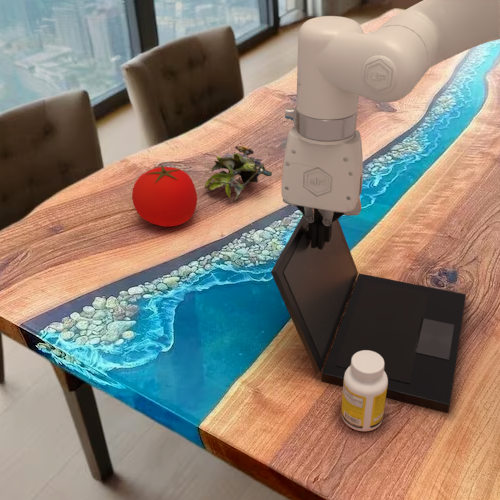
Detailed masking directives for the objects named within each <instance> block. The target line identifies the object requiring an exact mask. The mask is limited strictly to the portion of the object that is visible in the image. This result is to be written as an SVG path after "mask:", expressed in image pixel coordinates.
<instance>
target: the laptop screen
mask: <svg viewBox="0 0 500 500" xmlns="http://www.w3.org/2000/svg"><path fill="white" fill-rule="evenodd" d="M319 212H320V213H321V214H322V216H323V215H324V213H325V210H322V209H319ZM308 226H309V223H308V222H307V221H306V218H305V216H304V215H303V214H302V216H301V218H300V219H299V220H298V223H297V224H296V226H295V228H294V230H293V232H292V234H291V235H290V237H289V239H288V240H287V243H286V244H285V246H284V248H283V249H282V251H281V253H280V254H279V257H278V258H277V260H276V262H275V263H274V266H273V267H272V269H271V270H270V274H271V276H272V278H273V281H274V283H275V286H276V287H277V289H278V291H279V294H280V297H281V298H282V301H283V303H284V306H285V307H286V310H287V312H288V314H289V317H290V319H291V322H292V323H293V326H294V327H295V330H296V332H297V334H298V337H299V339H300V341H301V344H302V345H303V348H304V351H305V352H306V355H307V357H308V359H309V362H310V364H311V366H312V368H313V370H314V373H315V374H322V371H323V368H324V365H325V363H326V360H327V357H328V355H329V352H330V349H331V347H332V344H333V341H334V339H335V336H336V334H337V331H338V328H339V326H340V323H341V320H342V318H343V315H344V312H345V310H346V307H347V304H348V302H349V299H350V296H351V294H352V291H353V288H354V286H355V283H356V280H357V278H358V275H359V271H358V267H357V266H356V262H355V260H354V258H353V255H352V252H351V250H350V247H349V244H348V242H347V239H346V236H345V234H344V231H343V228H342V225H341V223H340V220H339V218H338V219H337V220H335V221H334V222H332V235H331V239H330V242H326V243H325V245H324V247H323V249H322V250H321V249H318V248H311V239H308Z"/></svg>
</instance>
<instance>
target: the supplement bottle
mask: <svg viewBox="0 0 500 500" xmlns="http://www.w3.org/2000/svg"><path fill="white" fill-rule="evenodd" d="M387 386H388V378H387V375H386V373H385V371H384V360H383V358H382V357H381V356H380V355H379V354H378V353H376V352H373V351H369V350H363V351H359V352H357V353H355V354H354V355H353V357H352V359H351V366H349V367H348V368H347V370H346V372H345V374H344V382H343V386H342V395H341V408H340V409H341V410H340V414H341V418H342V420H343V422H344V423H345V425H346V426H348V427H349V428H351V429H353V430H355V431H359V432H370V431H374V430H376V429H377V428H379V427H380V426H381V424H382V422H383V420H384V414H385V407H386V398H387V397H386V393H387Z"/></svg>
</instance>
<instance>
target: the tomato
mask: <svg viewBox="0 0 500 500" xmlns="http://www.w3.org/2000/svg"><path fill="white" fill-rule="evenodd" d="M131 199H132V204H133V207H134V208H135V209H134V210H136V211H135V212H136V213H137V214H138V215H139V217H141V219H143V220H144V221H146V222H148V223H150V224H153V225H155V226H159V227H165V228H167V227H169V228H171V227H177V226H180V225H183V224H185V223H186V222H188V221H189V220H190V219H191V218H192V217H193V215H194V214H195V211H196V208H197V203H198V194H197V190H196V187H195V184H194V181H193V178H191V176H190V175H189V174H188V173H187V172H186V171H183V170H182V169H181V168H177V167H171V166H163V165H161V166H158V167H154V168H151V169H150V170H148V171H146V172H144V173H142V174H141V175H140V176H139V177H138V178H137V179H136V181H135V182H134V184H133V187H132V193H131Z"/></svg>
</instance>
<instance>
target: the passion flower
mask: <svg viewBox="0 0 500 500" xmlns="http://www.w3.org/2000/svg"><path fill="white" fill-rule="evenodd" d="M234 148H235V150H237V151H238V152H236V151H233V152H232V153H228V152H226V154H224V156H223V157H221V156H219V155H217V156H216V159H214V161H213V162H214V163H215V164H214V165H213V166H212V167H211V172H212V173H213V172H214V171H217V170H221V169H225V170H228V172H227V171H225V170H221V171H219V172H216V173H214V174H212V175H211V176H210V177H209V178H208V179H207V181H206V182H205V183H204V188H205V189H206V190H207V189H208V190H209V191H210V192H211V191H214V190H217V189H219V188H221V187H224V186H225V188H224V189H225V194H226V196H227V197H228V199H231V197H232V195H231V190H232V187H234V192H235V199H234V201H233V203H236V201H237V199H239V195H240V194H241V192H242V191H243V190H245V188H246V185H248V184H249V183H256V184H257V183H258V182H259V179H258V177H259V176H260V175H262V176H266V177H272V176H273V172H272V171H269V170H267V169H266V167H265V165H264V163H262V162H261V161H262V159H261V158H256V157H255V156H251V155H254V153H255V151H254V150H253V149H252V148H247V147H246V146H244V145H243V146H242V145H241V146H239V145H235V146H234ZM242 153H243V154H242ZM249 156H250V157H249ZM236 176H238V181H237V180H236V178H235V177H236ZM241 181H242V184H241Z"/></svg>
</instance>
